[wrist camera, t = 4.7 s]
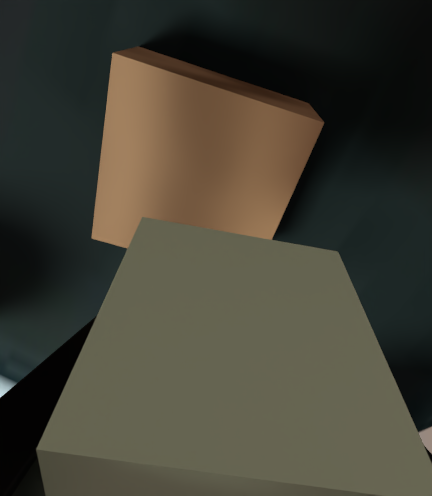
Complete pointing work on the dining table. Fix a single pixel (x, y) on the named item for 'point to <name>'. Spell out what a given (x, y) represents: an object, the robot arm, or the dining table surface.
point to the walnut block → (196, 149)
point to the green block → (231, 379)
